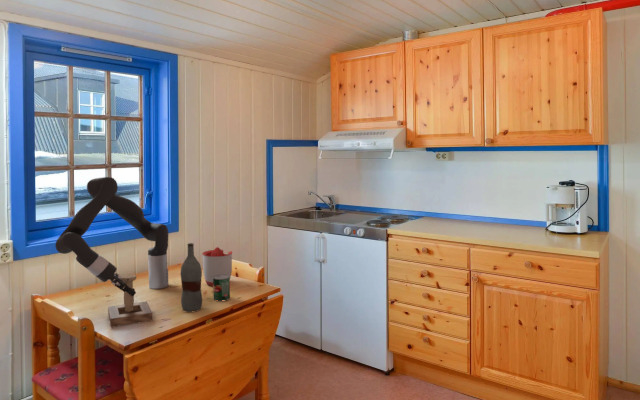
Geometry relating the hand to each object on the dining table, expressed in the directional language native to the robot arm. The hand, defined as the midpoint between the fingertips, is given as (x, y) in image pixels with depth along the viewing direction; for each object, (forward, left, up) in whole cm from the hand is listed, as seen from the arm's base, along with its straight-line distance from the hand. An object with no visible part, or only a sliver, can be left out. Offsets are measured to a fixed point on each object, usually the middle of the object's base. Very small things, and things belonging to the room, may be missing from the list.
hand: (133, 292), depth 198 cm
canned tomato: (-40, -7, -11) cm, 42 cm away
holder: (+2, 0, -11) cm, 11 cm away
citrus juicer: (-46, -33, -11) cm, 58 cm away
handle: (+2, 0, -8) cm, 8 cm away
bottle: (-24, +1, -11) cm, 27 cm away
